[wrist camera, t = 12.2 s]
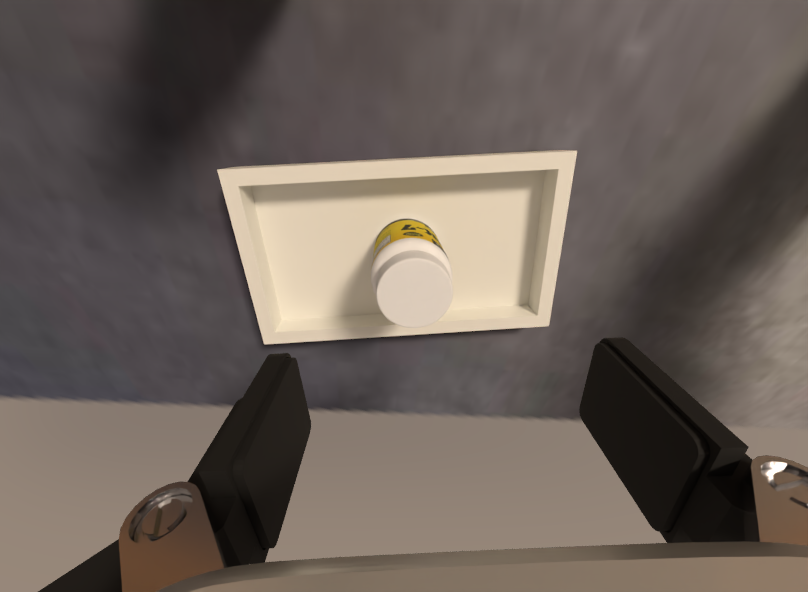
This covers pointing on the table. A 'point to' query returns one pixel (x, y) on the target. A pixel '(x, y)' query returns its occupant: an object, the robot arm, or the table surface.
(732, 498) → the robot arm
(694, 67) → the table surface
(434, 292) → the supplement bottle
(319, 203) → the tray
